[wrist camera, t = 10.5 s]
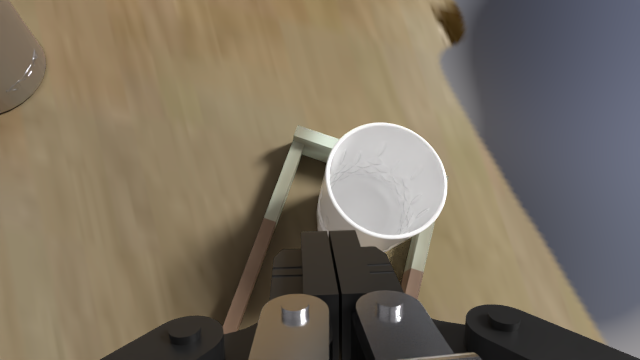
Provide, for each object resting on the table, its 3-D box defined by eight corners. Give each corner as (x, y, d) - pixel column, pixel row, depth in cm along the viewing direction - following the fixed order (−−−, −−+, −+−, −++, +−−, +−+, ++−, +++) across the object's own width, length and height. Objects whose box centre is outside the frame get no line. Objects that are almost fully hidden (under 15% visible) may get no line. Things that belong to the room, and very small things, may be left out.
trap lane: (185, 432, 31) (178, 440, 28) (295, 141, 40) (297, 125, 37) (365, 493, 31) (376, 506, 28) (435, 189, 40) (448, 176, 37)
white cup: (289, 228, 37) (300, 187, 28) (344, 159, 40) (369, 100, 31) (369, 287, 36) (406, 265, 27) (418, 212, 39) (468, 168, 30)
